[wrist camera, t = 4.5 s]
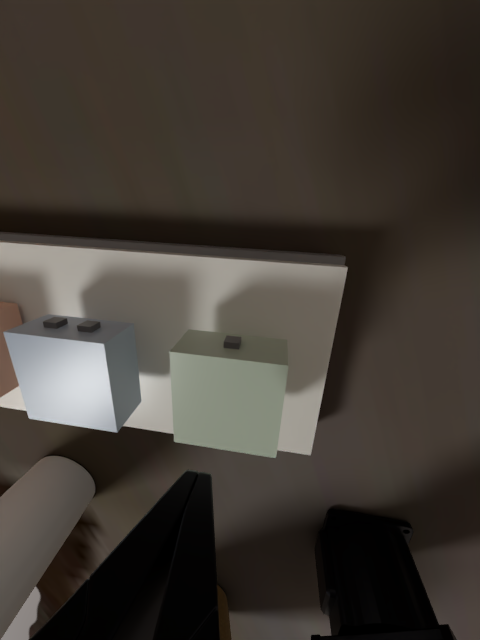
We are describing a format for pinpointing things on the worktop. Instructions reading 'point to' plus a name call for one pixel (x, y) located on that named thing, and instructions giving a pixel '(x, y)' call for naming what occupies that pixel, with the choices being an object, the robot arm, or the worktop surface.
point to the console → (185, 308)
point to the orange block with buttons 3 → (3, 375)
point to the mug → (37, 526)
